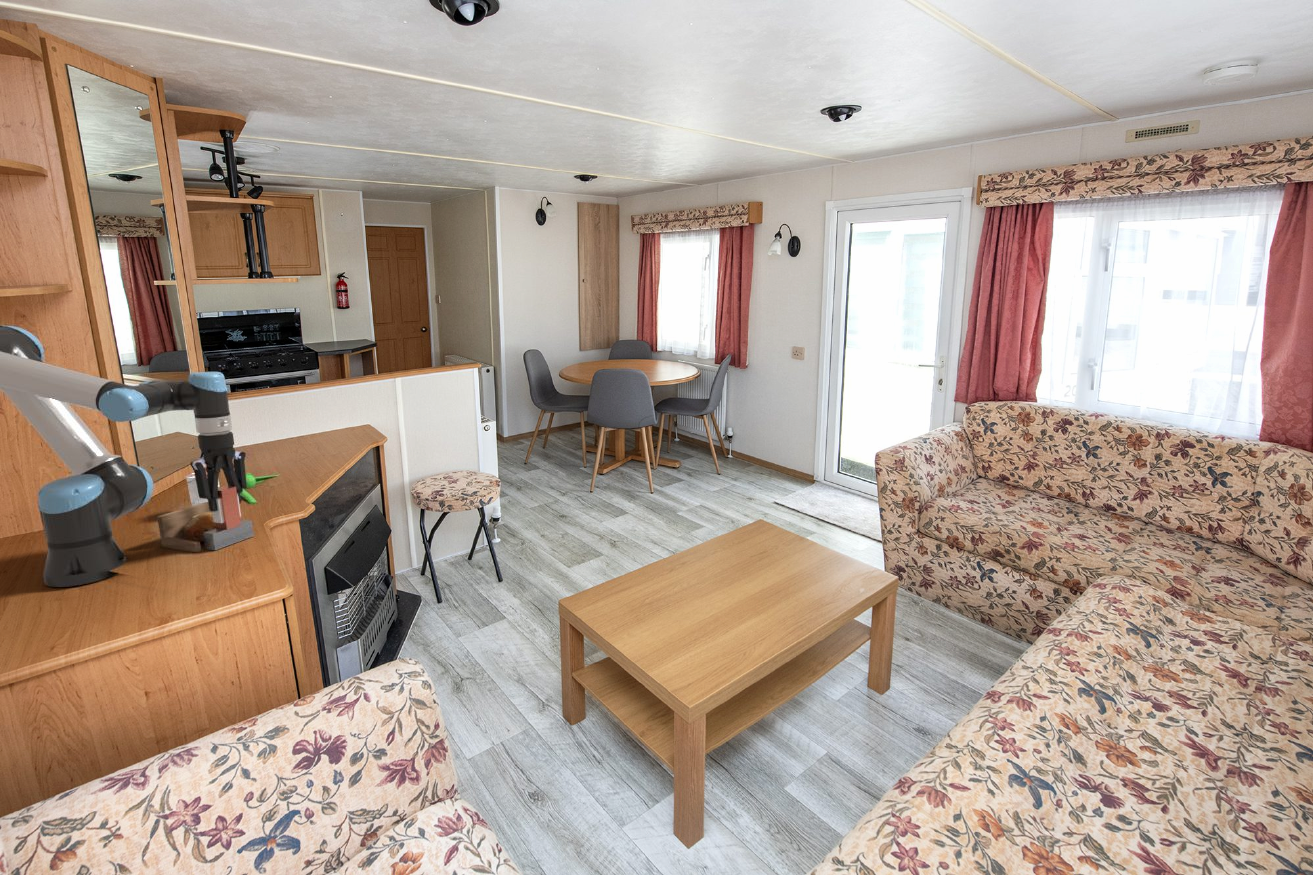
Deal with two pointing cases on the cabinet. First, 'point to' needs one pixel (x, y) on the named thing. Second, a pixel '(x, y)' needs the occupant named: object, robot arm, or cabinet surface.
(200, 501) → the striped cup with float
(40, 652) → the cabinet surface
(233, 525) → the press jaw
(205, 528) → the bread roll
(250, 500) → the lime squeezer
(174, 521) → the frame
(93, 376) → the robot arm
